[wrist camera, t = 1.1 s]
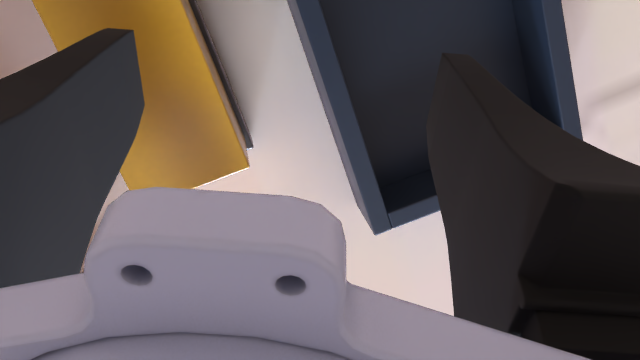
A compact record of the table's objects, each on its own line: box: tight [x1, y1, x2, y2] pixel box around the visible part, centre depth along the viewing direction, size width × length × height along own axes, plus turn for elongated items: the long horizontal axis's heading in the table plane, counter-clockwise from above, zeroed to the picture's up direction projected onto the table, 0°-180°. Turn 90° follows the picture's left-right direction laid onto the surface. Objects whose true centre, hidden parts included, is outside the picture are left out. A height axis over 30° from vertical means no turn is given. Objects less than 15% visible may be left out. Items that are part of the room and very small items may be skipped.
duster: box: [32, 0, 253, 190], centre depth 21 cm, size 5×11×5 cm, turn 19°
